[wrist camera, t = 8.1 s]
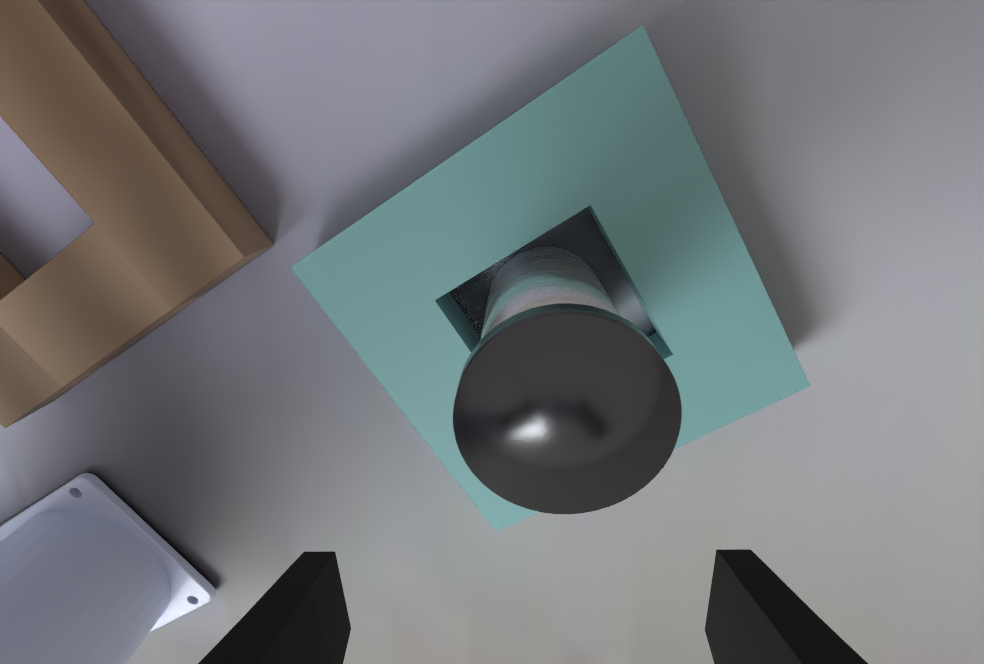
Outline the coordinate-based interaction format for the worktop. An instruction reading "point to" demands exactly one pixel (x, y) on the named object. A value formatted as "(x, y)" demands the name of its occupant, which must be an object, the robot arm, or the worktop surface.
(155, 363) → the worktop surface
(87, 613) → the robot arm
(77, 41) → the mount board
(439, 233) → the socket board
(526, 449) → the lock pin
